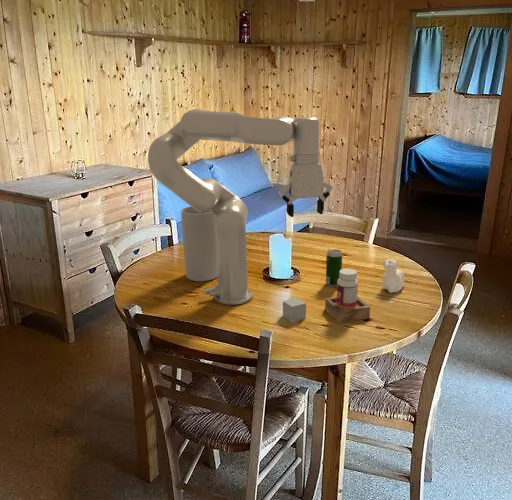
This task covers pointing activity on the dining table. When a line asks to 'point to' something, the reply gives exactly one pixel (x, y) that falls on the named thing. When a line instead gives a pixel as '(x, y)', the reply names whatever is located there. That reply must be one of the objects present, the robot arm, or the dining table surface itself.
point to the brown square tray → (347, 310)
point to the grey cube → (294, 309)
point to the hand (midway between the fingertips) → (305, 214)
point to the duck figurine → (392, 276)
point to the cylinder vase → (199, 245)
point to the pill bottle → (347, 289)
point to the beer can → (333, 266)
